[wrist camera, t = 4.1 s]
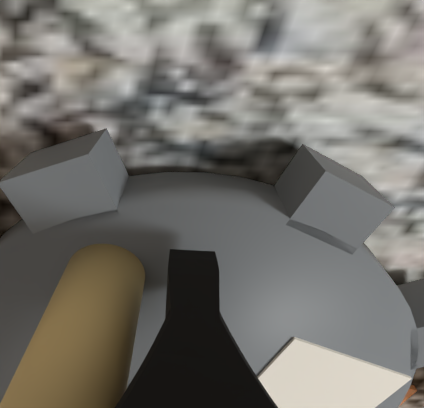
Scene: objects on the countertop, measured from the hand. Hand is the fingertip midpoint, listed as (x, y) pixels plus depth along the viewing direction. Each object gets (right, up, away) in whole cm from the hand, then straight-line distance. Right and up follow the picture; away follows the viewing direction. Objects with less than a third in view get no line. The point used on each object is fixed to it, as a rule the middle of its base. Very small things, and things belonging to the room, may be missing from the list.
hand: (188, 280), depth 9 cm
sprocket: (-1, -5, +6) cm, 8 cm away
